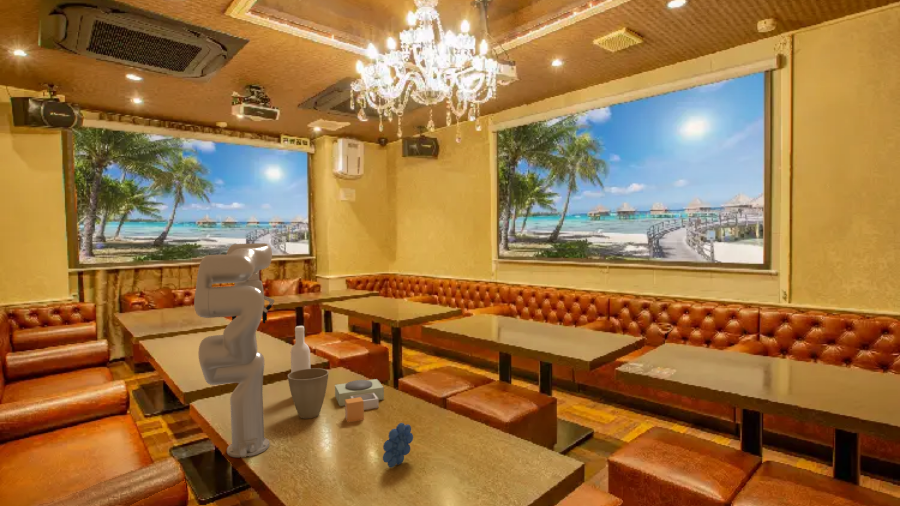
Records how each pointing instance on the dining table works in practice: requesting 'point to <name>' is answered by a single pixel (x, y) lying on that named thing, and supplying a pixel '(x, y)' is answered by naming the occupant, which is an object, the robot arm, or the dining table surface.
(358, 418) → the orange block
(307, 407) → the plant pot
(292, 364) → the bottle
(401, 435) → the grapes
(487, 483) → the dining table surface
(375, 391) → the green box with tray
